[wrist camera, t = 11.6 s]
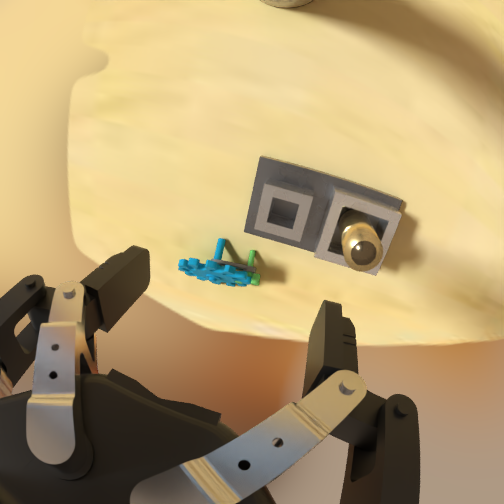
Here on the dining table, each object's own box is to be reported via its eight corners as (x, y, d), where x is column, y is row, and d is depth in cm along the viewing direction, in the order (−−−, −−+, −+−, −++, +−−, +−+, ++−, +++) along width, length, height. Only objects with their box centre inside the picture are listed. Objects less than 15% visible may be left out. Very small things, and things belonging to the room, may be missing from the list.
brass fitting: (344, 205, 31) (351, 228, 24) (374, 215, 31) (389, 241, 24) (334, 235, 33) (338, 265, 26) (363, 244, 33) (374, 276, 25)
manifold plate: (262, 155, 32) (253, 159, 28) (399, 198, 30) (410, 208, 26) (246, 228, 37) (236, 242, 33) (372, 266, 35) (378, 284, 31)
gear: (183, 280, 41) (168, 263, 31) (192, 244, 43) (181, 218, 33) (255, 295, 41) (260, 282, 31) (261, 258, 43) (269, 235, 33)
